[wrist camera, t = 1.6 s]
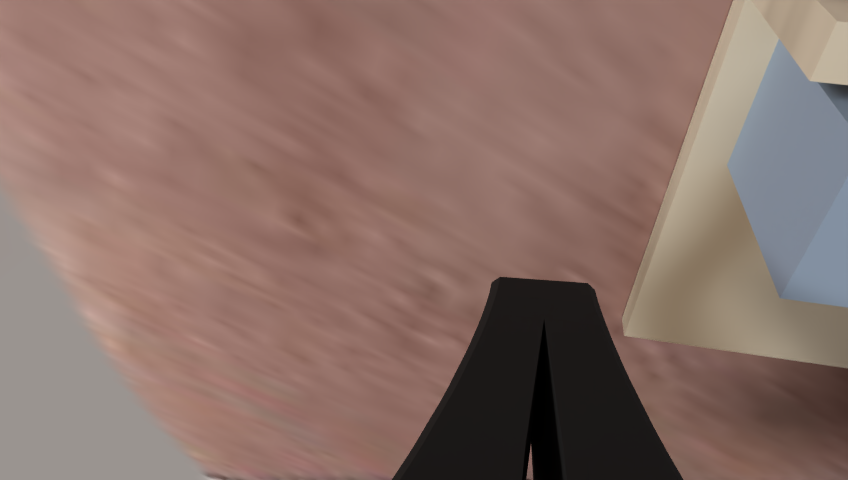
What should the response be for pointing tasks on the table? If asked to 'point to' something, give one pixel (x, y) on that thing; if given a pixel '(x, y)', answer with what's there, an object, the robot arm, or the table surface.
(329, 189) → the table surface
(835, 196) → the grey-blue block
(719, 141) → the wooden open box
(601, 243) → the table surface
